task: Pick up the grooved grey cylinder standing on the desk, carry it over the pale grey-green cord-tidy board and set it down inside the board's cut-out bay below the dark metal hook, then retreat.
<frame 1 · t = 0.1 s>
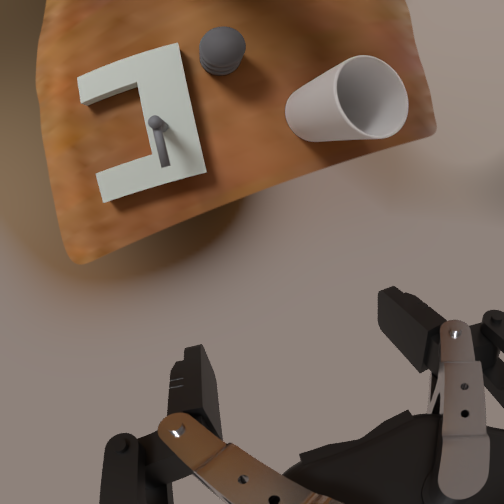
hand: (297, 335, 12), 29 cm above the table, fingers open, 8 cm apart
tidy board: (140, 121, 33), on the table
grooved grey cylinder: (220, 59, 32), on the table
cup: (312, 113, 37), on the table
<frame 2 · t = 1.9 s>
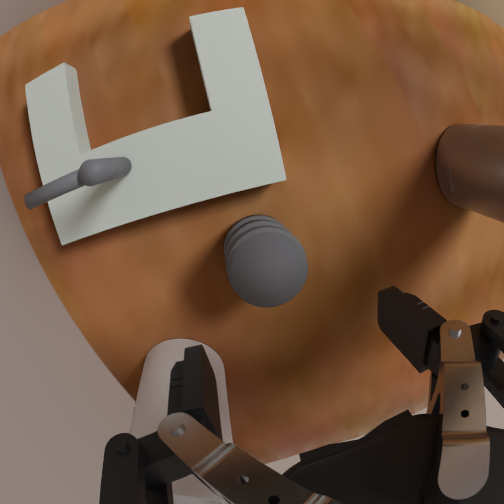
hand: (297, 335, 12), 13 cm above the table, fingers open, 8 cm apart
tidy board: (145, 121, 20), on the table
grooved grey cylinder: (255, 244, 24), on the table
cup: (184, 368, 28), on the table
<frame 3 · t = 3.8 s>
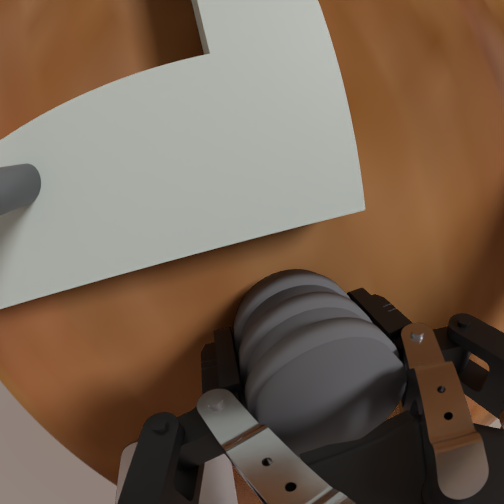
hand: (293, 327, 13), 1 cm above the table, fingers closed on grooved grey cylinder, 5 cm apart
tidy board: (82, 91, 9), on the table
grooved grey cylinder: (289, 319, 13), on the table, touching gripper
cup: (176, 464, 17), on the table
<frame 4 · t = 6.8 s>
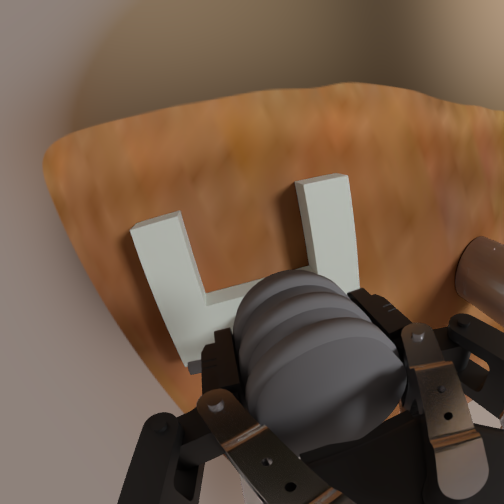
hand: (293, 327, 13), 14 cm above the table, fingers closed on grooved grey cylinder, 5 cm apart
tidy board: (255, 269, 27), on the table
grooved grey cylinder: (288, 319, 13), point 13 cm above the table, touching gripper
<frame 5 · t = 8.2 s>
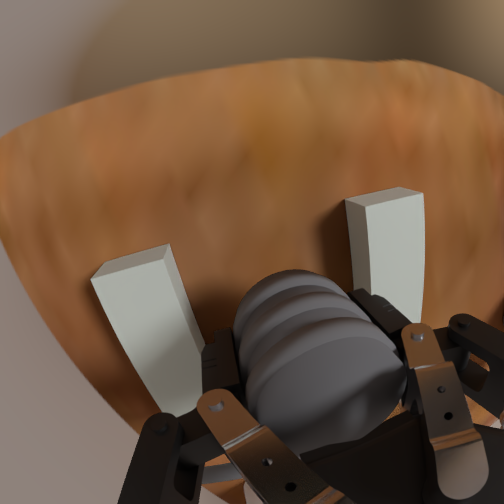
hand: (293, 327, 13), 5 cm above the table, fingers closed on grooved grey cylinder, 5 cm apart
tidy board: (282, 326, 18), on the table
grooved grey cylinder: (288, 319, 13), point 4 cm above the table, touching gripper
cup: (278, 480, 26), on the table
when the fingers open (2 cm above the table, at t = 9.6 s): grooved grey cylinder drops 2 cm, on the table.
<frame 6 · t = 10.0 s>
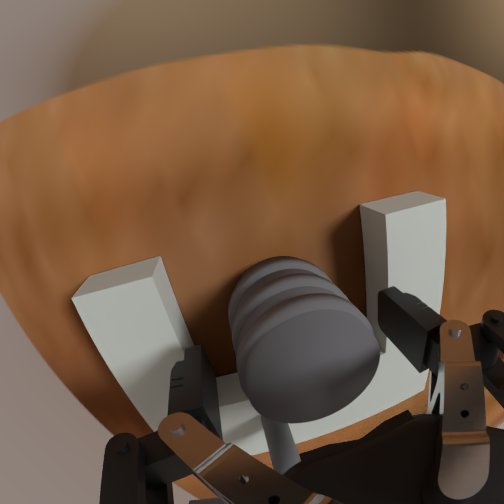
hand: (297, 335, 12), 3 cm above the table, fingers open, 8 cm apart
tidy board: (288, 345, 16), on the table
grooved grey cylinder: (279, 301, 15), on the table
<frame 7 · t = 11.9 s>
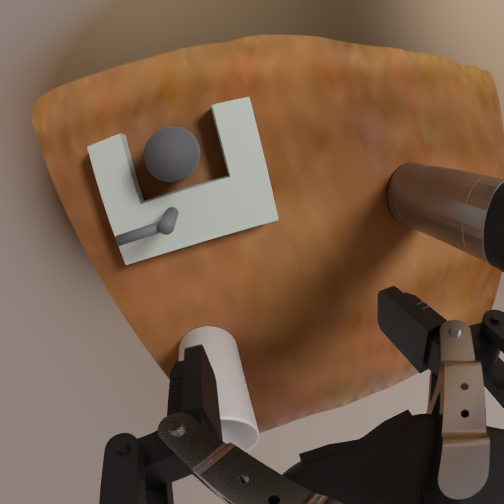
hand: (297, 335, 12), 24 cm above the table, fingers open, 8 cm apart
tidy board: (182, 179, 31), on the table
grooved grey cylinder: (175, 154, 30), on the table
cup: (208, 349, 40), on the table
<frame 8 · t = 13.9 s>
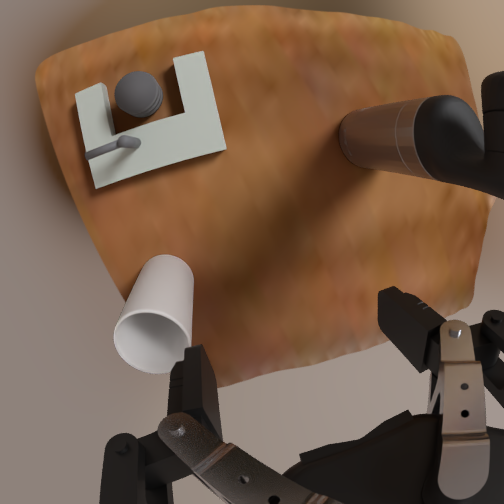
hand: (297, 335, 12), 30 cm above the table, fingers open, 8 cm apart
tidy board: (148, 118, 34), on the table
grooved grey cylinder: (144, 99, 33), on the table
cup: (166, 280, 42), on the table
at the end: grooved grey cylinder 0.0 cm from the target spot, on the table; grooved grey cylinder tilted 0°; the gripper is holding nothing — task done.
